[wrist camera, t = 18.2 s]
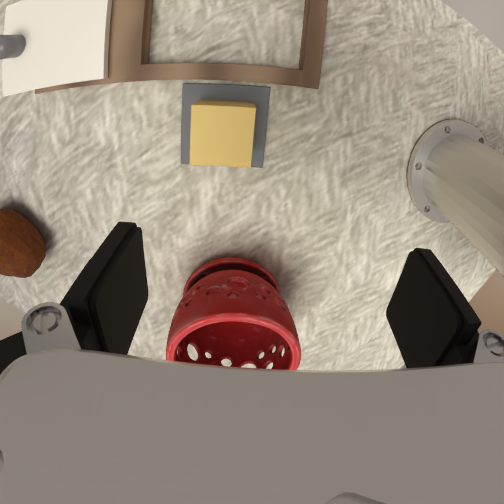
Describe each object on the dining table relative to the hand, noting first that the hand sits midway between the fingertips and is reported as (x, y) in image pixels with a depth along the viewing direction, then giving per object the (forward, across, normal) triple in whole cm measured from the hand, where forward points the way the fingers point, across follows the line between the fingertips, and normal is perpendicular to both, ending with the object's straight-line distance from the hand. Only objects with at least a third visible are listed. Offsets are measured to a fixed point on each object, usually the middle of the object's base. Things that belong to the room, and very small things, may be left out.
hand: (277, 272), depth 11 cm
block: (+22, +4, -1) cm, 22 cm away
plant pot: (+22, +2, +19) cm, 29 cm away
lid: (+19, +20, -11) cm, 29 cm away
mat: (+22, +4, -1) cm, 22 cm away
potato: (+21, +30, +12) cm, 38 cm away
